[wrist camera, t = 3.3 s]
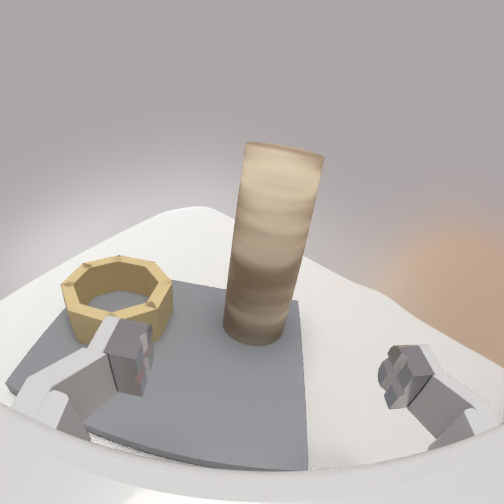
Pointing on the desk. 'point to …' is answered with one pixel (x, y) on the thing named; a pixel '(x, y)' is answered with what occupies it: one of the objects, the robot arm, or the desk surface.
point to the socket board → (185, 371)
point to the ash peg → (269, 239)
